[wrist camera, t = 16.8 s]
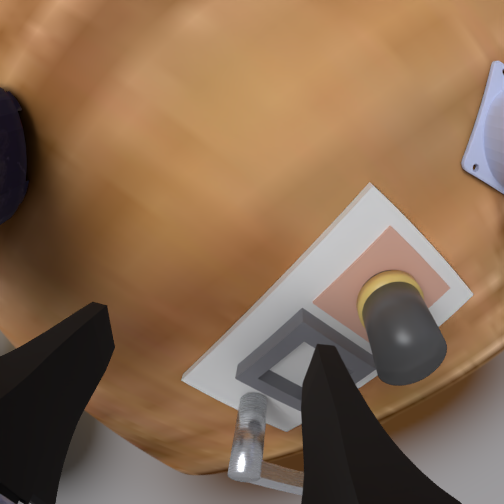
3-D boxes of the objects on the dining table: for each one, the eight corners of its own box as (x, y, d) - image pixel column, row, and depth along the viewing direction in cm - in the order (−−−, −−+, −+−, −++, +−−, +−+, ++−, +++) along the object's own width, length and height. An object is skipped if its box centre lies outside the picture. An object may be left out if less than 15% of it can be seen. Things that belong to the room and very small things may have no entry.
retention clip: (234, 402, 26) (221, 476, 19) (249, 389, 25) (238, 468, 18) (342, 442, 28) (346, 503, 22) (359, 432, 27) (366, 496, 20)
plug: (426, 272, 19) (463, 331, 13) (402, 324, 21) (427, 388, 15) (367, 261, 19) (393, 324, 13) (346, 318, 21) (360, 386, 15)
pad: (390, 224, 18) (391, 226, 17) (449, 286, 19) (450, 288, 19) (312, 301, 21) (312, 303, 20) (378, 347, 22) (379, 349, 22)
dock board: (369, 181, 17) (380, 193, 15) (469, 288, 20) (482, 306, 18) (183, 373, 26) (176, 393, 24) (286, 425, 29) (286, 444, 27)
